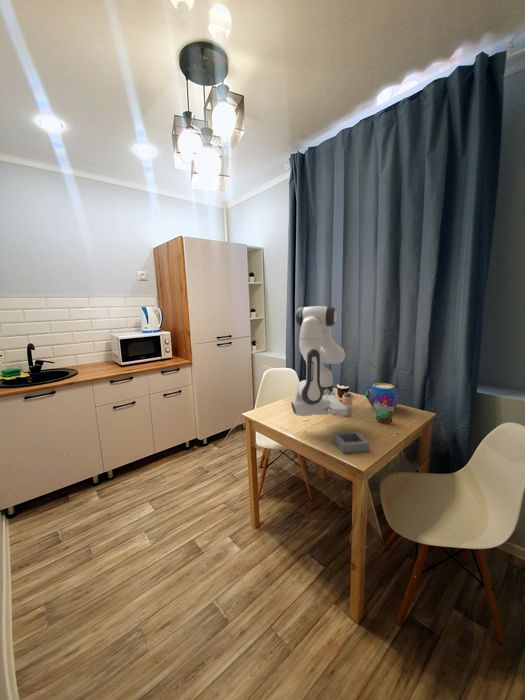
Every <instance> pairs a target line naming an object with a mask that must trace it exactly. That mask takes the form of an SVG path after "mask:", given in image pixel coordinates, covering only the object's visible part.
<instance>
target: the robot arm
mask: <svg viewBox="0 0 525 700" xmlns="http://www.w3.org/2000/svg"><path fill="white" fill-rule="evenodd" d="M337 320H338V313H337V309H336V308H335V307H333V306H331V305H330V306H323V305H316V306H315V305H314V306H313V305H311V306H301V307H299V308H297V310H296V311H295V323H296V324H297V325H298V327H299V326H300V331H299V338H298V339H299V341H298V345H299V352H300V354H301V355H302V357H303V360H304V361H305V364H306V366H305V367H306V371H305V372H306V376H305V378H306V379H303V380H301V381H299V382H298V384H297V386H296V392H295V395H294V398H293V399H292V400H291V404H290V405H291V409H292V412H293V413H294V414H295V415H296V416H298V417H310V416H314V415H316V416H323V415H328V414H331V415H332V416H335V417H336V416H337V417H339V416H340V417H341V416H342V417H343V416H345V415H347V414H348V409H349V408H352V409H353V404H352V405H351V404H348V405H343V404H342V399H340V398H337V396H336V392H335V391H334V384H333V373H332V371H331V370H330V369H328V368H326V366H324V364H330V365H331V364H332V365H333V364H334V365H335V364H336V365H337V364H341V363H343V362H344V360H345V359H346V352H345V350H344V348H343V347H341V346H340V345H338V344H337V342H336V341H335V340H334V339H333V335H332V327H333V326H334V325H335V324H336V322H337Z"/></svg>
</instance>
